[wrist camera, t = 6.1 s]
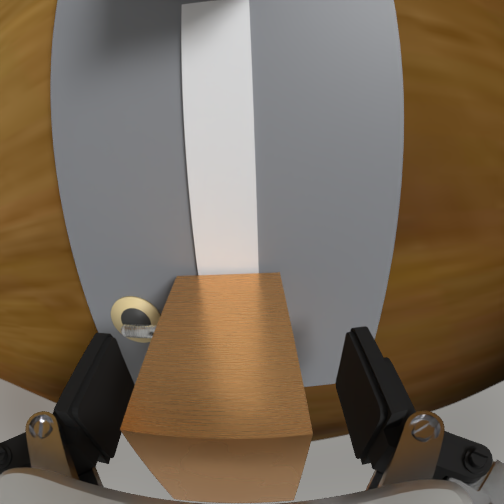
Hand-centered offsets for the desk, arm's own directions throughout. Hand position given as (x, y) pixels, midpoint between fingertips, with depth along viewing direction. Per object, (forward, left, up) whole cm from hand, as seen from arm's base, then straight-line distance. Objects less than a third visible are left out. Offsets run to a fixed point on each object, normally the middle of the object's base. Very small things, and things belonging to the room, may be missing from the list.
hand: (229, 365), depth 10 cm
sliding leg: (+1, 0, -2) cm, 3 cm away
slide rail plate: (0, -7, -4) cm, 8 cm away
